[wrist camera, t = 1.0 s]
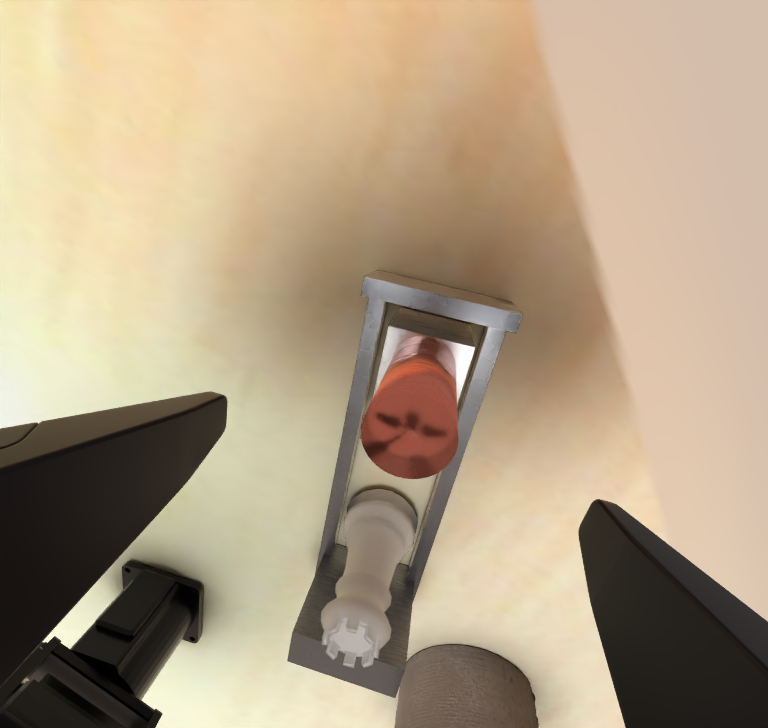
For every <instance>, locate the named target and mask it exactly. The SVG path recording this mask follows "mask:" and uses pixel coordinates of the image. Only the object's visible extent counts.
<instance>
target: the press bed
mask: <svg viewBox="0 0 768 728" xmlns="http://www.w3.org/2000/svg"><path fill="white" fill-rule="evenodd" d="M361 296H365V297H369V299H368V304H367V310H366V315H365V320H364V325H363V330H362V335H361V341H360V346H359V351H358V356H357V361H356V366H355V371H354V377H353V382H352V387H351V392H350V397H349V402H348V408H347V413H346V418H345V423H344V428H343V433H342V438H341V444H340V449H339V454H338V459H337V464H336V469H335V475H334V480H333V485H332V490H331V495H330V500H329V506H328V511H327V516H326V521H325V526H324V531H323V536H322V542H321V547H320V552H319V557H318V562H317V567H316V573H315V577H314V580H313V582H312V585H311V587H310V590H309V592H308V595H307V597H306V600H305V602H304V605H303V607H302V610H301V612H300V615H299V617H298V620H297V622H296V625H295V627H294V630H293V632H292V638H291V644H290V649H289V655H288V661H289V662H292V663H295V664H297V665H300V666H303V667H306V668H309V669H312V670H315V671H318V672H321V673H324V674H327V675H330V676H332V677H335V678H338V679H341V680H344V681H347V682H350V683H353V684H356V685H359V686H362V687H365V688H367V689H370V690H373V691H376V692H379V693H382V694H385V695H388V696H391V697H394V698H395V697H396V694H397V691H398V689H399V686H400V683H401V680H402V678H403V675H404V672H405V669H406V659H407V650H408V640H409V631H410V621H411V612H412V603H413V600H414V597H415V595H416V592H417V589H418V586H419V583H420V580H421V577H422V574H423V571H424V568H425V565H426V562H427V560H428V557H429V554H430V551H431V548H432V545H433V542H434V539H435V536H436V533H437V530H438V528H439V525H440V522H441V519H442V516H443V513H444V510H445V507H446V504H447V501H448V498H449V496H450V493H451V490H452V487H453V484H454V481H455V478H456V475H457V472H458V469H459V466H460V463H461V461H462V458H463V455H464V452H465V449H466V446H467V443H468V440H469V437H470V434H471V431H472V429H473V426H474V423H475V420H476V417H477V414H478V411H479V408H480V405H481V402H482V399H483V397H484V394H485V391H486V388H487V385H488V382H489V379H490V376H491V373H492V370H493V367H494V364H495V362H496V359H497V356H498V353H499V350H500V347H501V344H502V341H503V338H504V335H505V332H506V331H508V332H512V333H516V332H517V329H518V327H519V324H520V321H521V318H522V315H523V314H522V313H521V312H520V311H519V310H518V309H517V308H516V306H515V305H514V304H513V303H512V302H510V301H506V300H502V299H498V298H493V297H489V296H485V295H481V294H477V293H472V292H468V291H464V290H460V289H455V288H451V287H447V286H443V285H439V284H434V283H430V282H426V281H422V280H417V279H413V278H409V277H405V276H401V275H396V274H392V273H388V272H384V271H380V270H377V271H375V272H373V273H371V274H369V275H367V276H365V277H364V281H363V286H362V292H361ZM387 302H390V303H394V304H398V305H402V306H406V307H410V308H414V309H418V310H422V311H427V312H431V313H435V314H439V315H443V316H447V317H451V318H455V319H459V320H463V321H467V322H471V323H476V324H480V325H484V326H485V330H484V333H483V336H482V339H481V342H480V345H479V348H478V351H477V355H476V358H475V361H474V364H473V367H472V370H471V373H470V376H469V380H468V383H467V386H466V389H465V392H464V395H463V398H462V401H461V404H460V408H459V411H458V439H459V440H458V447H457V451H456V453H455V456H454V458H453V459H452V461H451V462H450V463H449V464H448V466H446V467H445V468H444V469H443V470H441V471H440V472H439V473H438V476H437V479H436V482H435V486H434V489H433V492H432V495H431V498H430V501H429V504H428V507H427V511H426V514H425V517H424V520H423V523H422V526H421V529H420V532H419V535H418V539H417V542H416V545H415V548H414V551H413V554H412V557H411V560H410V564H409V566H406V565H403V564H400V563H398V564H397V565H396V568H395V571H394V574H393V577H392V580H391V583H390V586H389V591H390V594H391V597H392V598H391V605H390V606H389V608H388V609H387V610H386V611H385V612H384V613H385V615H386V617H387V619H388V621H389V624H390V626H391V636H390V639H389V641H388V642H387V643H386V644H385V645H384V646H383V647H382V648H381V649H380V650H379V656H378V659H377V658H374V661H373V665H371V666H368V667H366V668H364V667H363V666H362V664H361V661H362V657H356V660H355V665H354V668H351V667H347V666H343V662H344V658H345V654H344V653H343V652H341V651H338V654H337V657H336V658H335V659H334V660H332V659H331V658H330V657H329V656H328V655H327V654H326V649H327V646H328V645H322V636H323V633H324V629H323V626H322V624H321V612H322V610H323V609H324V607H325V606H326V605H327V604H328V603H329V602H331V601H332V600H334V599H335V598H337V595H336V593H335V588H336V583H337V582H338V580H339V579H340V577H342V576H343V574H344V570H345V567H346V560H347V554H348V548H347V547H345V546H341V545H338V544H336V541H337V536H338V531H339V527H340V522H341V517H342V513H343V508H344V503H345V499H346V494H347V489H348V484H349V480H350V475H351V470H352V466H353V461H354V456H355V452H356V447H357V442H358V438H359V433H360V428H361V424H362V419H363V414H364V410H365V405H366V400H367V396H368V391H369V386H370V382H371V377H372V372H373V367H374V363H375V358H376V353H377V349H378V344H379V339H380V335H381V330H382V325H383V321H384V316H385V311H386V307H387Z"/></svg>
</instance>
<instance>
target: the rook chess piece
mask: <svg viewBox="0 0 768 728" xmlns="http://www.w3.org/2000/svg"><path fill="white" fill-rule="evenodd" d="M417 522H418V521H417V518H416V515H415V512H414V509H413V508H412V507H411V506H410V505H409V504H408V502H407V501H406V500H405V499H404V498H403V497H401V496H400V495H398V494H396V493H394V492H392V491H389V490H384V489H374V490H367V491H364V492H362V493H360V494H358V495H357V496H355V497H353V499H352V500H351V502H350V504H349V505H348V507H347V514H346V516H345V518H344V536H345V538H346V546H347V548H348V554H347V560H346V567H345V570H344V574H343V576H342V577H340V579H339V580H338V582H337V583H336V588H335V593H336V595H337V598H335V599H334V600H332V601H331V602H329V603H328V604H327V605H326V606H325V607H324V609H323V610H322V612H321V624H322V626H323V629H324V633H323V636H322V645H328V646H327V649H326V654H327V655H328V656H329V657H330V658H331V659H332V660H334V659H335V658H336V657H337V654H338V651H341V652H343V653H344V654H345V658H344V662H343V666H347V667H351V668H354V665H355V660H356V657H362V661H361V664H362V666H363V667H364V668H366V667H368V666H371V665H373V661H374V658H377V659H378V656H379V650H380V649H381V648H382V647H383V646H384V645H385V644H386V643H387V642H388V641H389V639H390V636H391V626H390V624H389V621H388V619H387V617H386V615H385V613H384V612H385V611H386V610H387V609H388V608H389V606H390V605H391V598H392V597H391V594H390V591H389V586H390V583H391V580H392V577H393V574H394V571H395V568H396V565H397V564H398V563H399V562H400V561H401V559H402V558H403V557H404V556H405V555H406V554H407V552H408V551H409V550H410V549H411V547H412V545H413V543H414V536H415V533H416V529H417Z"/></svg>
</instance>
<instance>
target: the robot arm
mask: <svg viewBox="0 0 768 728" xmlns="http://www.w3.org/2000/svg"><path fill="white" fill-rule="evenodd" d="M226 419H227V398H226V397H225V396H224V395H222V394H218V393H215V392H204V393H198V394H193V395H187V396H181V397H176V398H170V399H165V400H159V401H153V402H148V403H142V404H137V405H131V406H125V407H120V408H114V409H109V410H103V411H97V412H92V413H86V414H81V415H75V416H69V417H64V418H58V419H53V420H47V421H42V422H40V423H39V424H38V423H30V424H24V425H19V426H13V427H7V428H1V429H0V728H155V727H156V725H157V723H158V721H159V719H160V718H161V716H162V713H161V712H160V711H159V710H157V709H155V710H154V709H152V708H151V707H150V706H148V705H147V704H145V703H144V702H143V701H141V700H142V698H143V697H144V695H145V694H146V692H147V691H148V689H149V688H150V686H151V685H152V683H153V682H154V680H155V679H156V677H157V676H158V674H159V673H160V671H161V670H162V668H163V667H164V665H165V664H166V662H167V661H168V659H169V658H170V656H171V655H172V653H173V652H174V650H175V649H176V647H177V646H178V644H179V643H180V641H181V640H182V639H183V640H186V641H189V642H191V643H197V642H198V641H199V639H200V637H201V626H202V600H203V588H202V586H201V585H200V584H198V583H196V582H193V581H190V580H187V579H184V578H181V577H178V576H175V575H172V574H169V573H166V572H163V571H160V570H157V569H153V568H150V567H147V566H144V565H141V564H138V563H135V562H132V561H127V562H126V563H125V564H124V565H123V566H122V576H123V589H124V590H123V591H122V592H121V593H120V594H119V595H118V596H117V598H116V599H115V600H114V601H113V602H112V603H111V604H110V605H109V606H108V607H107V608H106V609H105V611H104V612H103V613H102V614H101V615H100V616H99V617H98V618H97V620H96V621H95V623H94V624H93V625H92V626H91V627H90V628H89V629H88V630H87V631H86V632H85V633H84V635H83V636H82V637H81V638H80V639H79V640H78V641H77V642H76V643H75V644H74V645H73V646H72V648H71V649H69V648H67V647H66V646H64V645H63V644H62V643H60V642H61V640H60V639H58V638H57V637H55V636H54V637H53V638H52V639H51V640H50V641H49V642H48V643H46V642H45V643H44V642H42V641H43V640H44V639H45V638H46V637H47V636H48V635H49V633H50V632H51V631H52V630H53V629H54V628H55V627H56V626H57V625H58V624H59V622H60V621H61V620H62V619H63V618H64V617H65V616H66V615H67V614H68V613H69V611H70V610H71V609H72V608H73V607H74V606H75V605H76V604H77V603H78V602H79V600H80V599H81V598H82V597H83V596H84V595H85V594H86V593H87V592H88V591H89V589H90V588H91V587H92V586H93V585H94V584H95V583H96V582H97V581H98V580H99V578H100V577H101V576H102V575H103V574H104V573H105V572H106V571H107V570H108V569H109V567H110V566H111V565H112V564H113V563H114V562H115V561H116V560H117V559H118V558H119V556H120V555H121V554H122V553H123V552H124V551H125V550H126V549H127V548H128V547H129V545H130V544H131V543H132V542H133V541H134V540H135V539H136V538H137V537H138V536H139V534H140V533H141V532H142V531H143V530H144V529H145V528H146V527H147V526H148V525H149V523H150V522H151V521H152V520H153V519H154V518H155V517H156V516H157V515H158V514H159V512H160V511H161V510H162V509H163V508H164V507H165V506H166V505H167V504H168V503H169V501H170V500H171V499H172V498H173V497H174V496H175V495H176V494H177V493H178V492H179V490H180V489H181V488H182V487H183V486H184V485H185V484H186V482H187V481H188V480H189V479H190V477H191V476H192V475H193V474H194V472H195V471H196V470H197V468H198V467H199V465H200V464H201V463H202V461H203V460H204V459H205V457H206V456H207V455H208V453H209V452H210V451H211V449H212V448H213V446H214V445H215V444H216V442H217V441H218V440H219V438H220V437H221V436H222V434H223V432H224V430H225V427H226ZM579 541H580V547H581V553H582V558H583V564H584V570H585V575H586V581H587V587H588V592H589V597H590V602H591V606H592V610H593V614H594V618H595V621H596V625H597V628H598V632H599V635H600V639H601V642H602V646H603V649H604V653H605V656H606V660H607V663H608V667H609V671H610V674H611V678H612V681H613V685H614V688H615V692H616V695H617V699H618V702H619V706H620V709H621V713H622V716H623V720H624V723H625V727H626V728H768V622H767V621H766V620H765V619H764V618H762V617H761V616H760V615H758V614H757V613H756V612H754V611H753V610H752V609H751V608H749V607H748V606H747V605H746V604H744V603H743V602H741V601H740V600H739V599H738V598H737V597H735V596H734V595H733V594H731V593H730V592H729V591H728V590H726V589H725V588H724V587H722V586H721V585H720V584H718V583H717V582H716V581H715V580H713V579H712V578H711V577H709V576H708V575H707V574H706V573H704V572H703V571H702V570H700V569H699V568H698V567H697V566H695V565H694V564H693V563H691V562H690V561H689V560H688V559H686V558H685V557H684V556H682V555H681V554H680V553H679V552H677V551H676V550H675V549H673V548H672V547H671V546H670V545H668V544H667V543H666V542H664V541H663V540H662V539H661V538H659V537H658V536H657V535H655V534H654V533H653V532H652V531H650V530H649V529H648V528H646V527H645V526H644V525H643V524H641V523H640V522H639V521H637V520H636V519H635V518H634V517H632V516H631V515H630V514H628V513H627V512H626V511H625V510H623V509H622V508H621V507H619V506H618V505H617V504H614V503H611V502H608V501H604V500H600V499H597V500H594V501H593V502H592V504H591V505H590V507H589V509H588V511H587V513H586V515H585V517H584V519H583V521H582V523H581V525H580V527H579ZM28 679H29V681H27V680H28Z"/></svg>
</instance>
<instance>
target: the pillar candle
mask: <svg viewBox="0 0 768 728" xmlns="http://www.w3.org/2000/svg"><path fill="white" fill-rule="evenodd" d="M395 728H538V718H537V716H536V708H535V696H534V695H533V693H532V690H531V687H530V683H529V681H528V680H527V679H526V678H525V676H524V675H523V674H522V673H521V672H520V671H519V670H518V669H517V668H516V667H515V666H513V665H512V664H511V663H509V662H508V661H507V660H505V659H502V658H501V657H500V656H498V655H496V654H494V653H492V652H489V651H486V650H482V649H479V648H476V647H469V646H465V645H442V646H434V647H431V648H428V649H425V650H422V651H421V652H419V653H417V654H415V655H414V656H412V657H411V658H410V660H408V661H407V663H406V669H405V672H404V675H403V678H402V680H401V683H400V690H399V699H398V706H397V712H396V720H395Z"/></svg>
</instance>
